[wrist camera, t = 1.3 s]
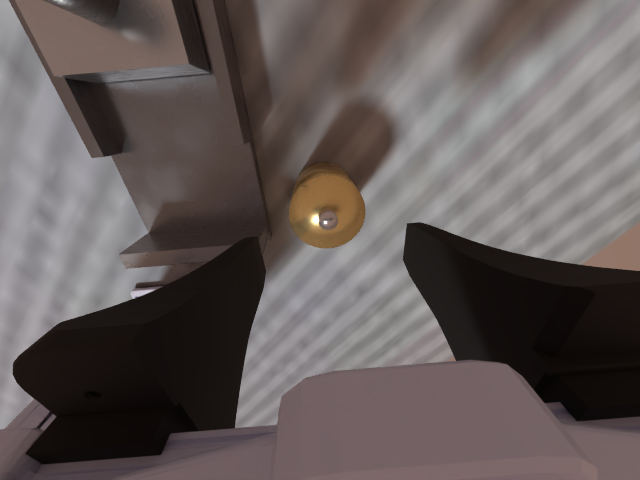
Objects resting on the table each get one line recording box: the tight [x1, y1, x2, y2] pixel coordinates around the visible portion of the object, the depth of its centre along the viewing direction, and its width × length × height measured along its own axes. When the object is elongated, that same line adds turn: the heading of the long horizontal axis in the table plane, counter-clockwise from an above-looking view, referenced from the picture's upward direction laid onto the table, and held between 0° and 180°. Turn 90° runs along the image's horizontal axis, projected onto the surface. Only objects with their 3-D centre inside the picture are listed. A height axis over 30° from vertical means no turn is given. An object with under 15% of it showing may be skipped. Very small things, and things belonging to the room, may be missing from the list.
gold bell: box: [289, 162, 365, 248], centre depth 17 cm, size 5×5×6 cm
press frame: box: [9, 0, 272, 269], centre depth 15 cm, size 16×10×4 cm, turn 4°
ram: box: [15, 0, 210, 83], centre depth 10 cm, size 4×7×7 cm, turn 95°
